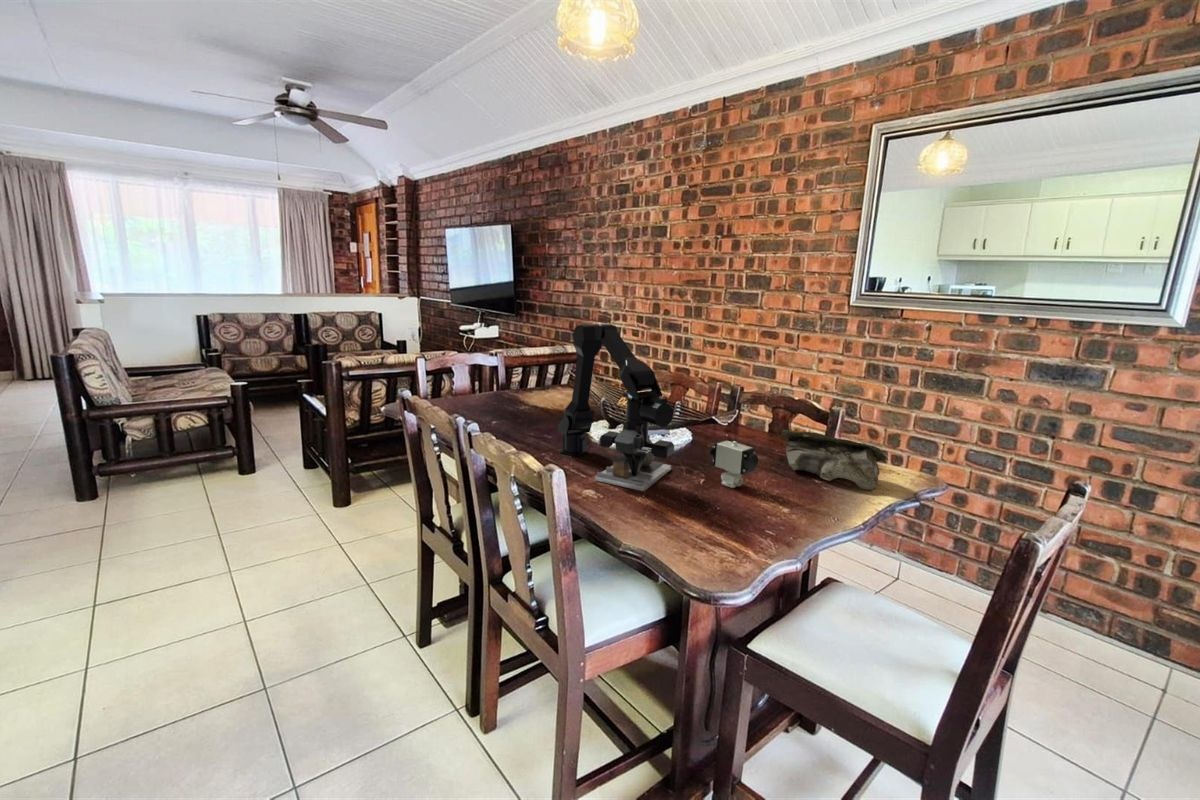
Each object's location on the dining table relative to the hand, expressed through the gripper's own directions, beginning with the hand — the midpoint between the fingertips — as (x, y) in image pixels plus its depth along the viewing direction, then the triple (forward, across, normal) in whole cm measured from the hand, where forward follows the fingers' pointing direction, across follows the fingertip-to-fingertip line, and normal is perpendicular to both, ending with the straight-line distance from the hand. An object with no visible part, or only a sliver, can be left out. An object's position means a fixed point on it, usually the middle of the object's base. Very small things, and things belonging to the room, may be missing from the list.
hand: (634, 475), depth 140 cm
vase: (+1, -3, +12) cm, 12 cm away
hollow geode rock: (+3, +43, +35) cm, 55 cm away
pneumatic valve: (+2, +22, +13) cm, 26 cm away
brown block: (+1, -4, 0) cm, 4 cm away
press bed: (+2, -3, +6) cm, 7 cm away
